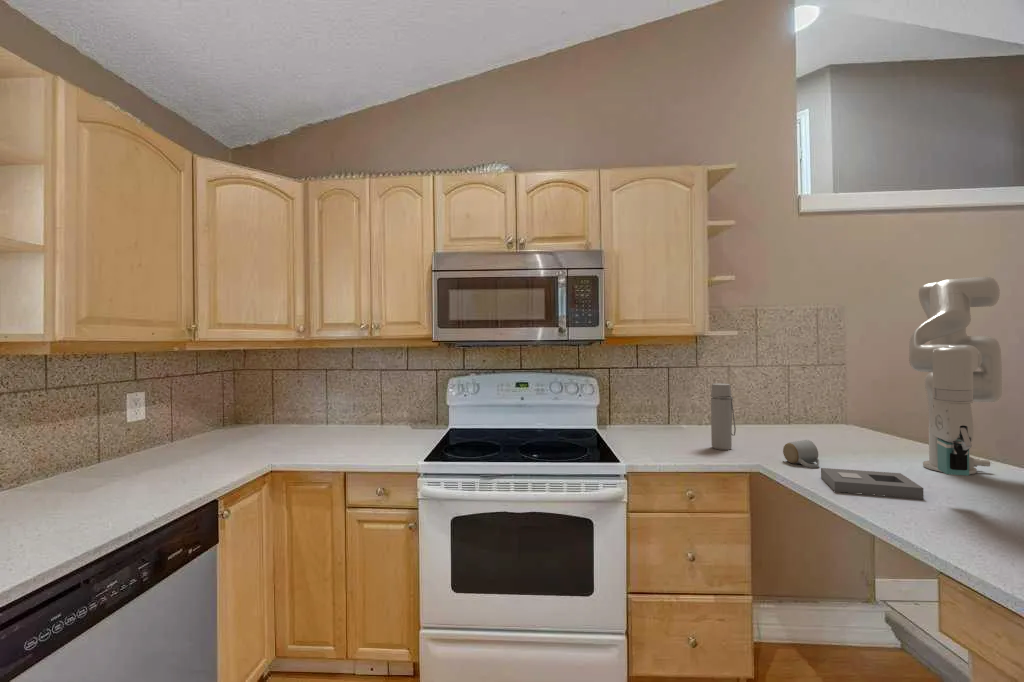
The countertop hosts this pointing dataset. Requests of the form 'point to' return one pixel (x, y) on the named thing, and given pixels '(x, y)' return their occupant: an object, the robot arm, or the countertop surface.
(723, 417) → the water bottle
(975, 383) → the robot arm
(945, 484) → the countertop surface
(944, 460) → the block
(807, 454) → the ceramic mug
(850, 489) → the block
